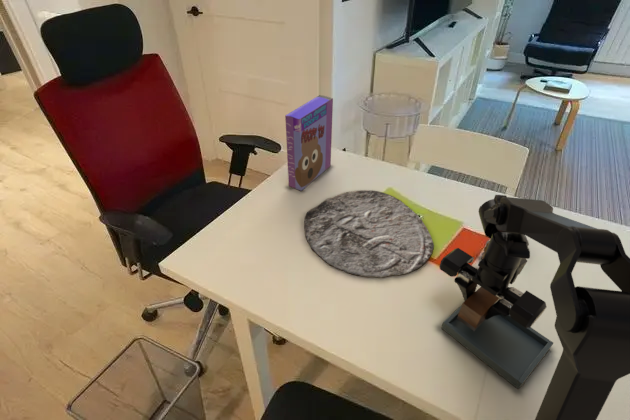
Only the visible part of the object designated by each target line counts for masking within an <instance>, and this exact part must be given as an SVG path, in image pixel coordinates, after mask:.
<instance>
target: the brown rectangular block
mask: <svg viewBox="0 0 630 420" xmlns="http://www.w3.org/2000/svg"><path fill="white" fill-rule="evenodd" d="M499 299H500V298H498V297H497V296H494V295H493V294H491V293H490V292H488V291H487V290H485V289H484V288H482V287H481V286H479V287H478V289H476V290H475V292H474V293H473V294H472V295H471V296H470V297H469V298H468V299H467V300H466V301H463V302H462V304H461V305H462V306H461V305H460V306H461V309H460V311H459V314H458V316H457V319H458V320H460V321H461V322H462V323H464V324H465V325H466V326H468V327H469V328H470V329H472V330H473V331H475V330H476V329H477V328H478V327H479V326H480V325H481V324H482V323H483V322H484V321H485V320H486V319H485V317H486V315H487V313H488V312H489V310H490V309H491V307H492V306H493V305H494V304H495V303H496V302H497V301H498V300H499Z"/></svg>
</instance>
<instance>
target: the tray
mask: <svg viewBox="0 0 630 420" xmlns="http://www.w3.org/2000/svg"><path fill="white" fill-rule="evenodd" d="M461 306H462V304H461V305H459V307H458V308H457V309H456V310H455V311H453V312H452V313H451V314H450V315H449V316H448V317H447V318H446V319H445V320H444V321H443V322H442V325H441V330H443V331H444V332H445V333H447V334H448V335H449V336H451V337H452V338H453V339H455V341H457V342H458V343H459V344H461V345H462V346H463V347H465V348H466V349H467V350H468V351H470V353H472V354H473V355H474V356H476V357H477V358H478V359H479V360H481V361H482V362H483V363H485V364H486V365H487V366H488V367H490V368H491V369H492V370H493V371H495V372H496V373H497V374H498V375H499V376H501V377H502V378H503V379H505V380H506V381H507V382H508V383H510V384H511V385H512V386H513V387H515V388H516V389H517V390H520V388H521V387H522V385H523V384H524V383H525V381H526V380H527V379H528V378H529V376H530V375H531V373H532V372H533V371H534V370H535V368H536V367H537V366H538V365H539V363H540V362H541V361H542V360H543V358H544V357H545V355H547V353H548V352H549V350H550V349H551V348H552V346H553V345H554V341H552V340H550V339H549V338H547V337H546V336H544V335H543V334H542V333H540V332H539V331H537V330H536V329H534V328H533V327H532V326H531V327H530V328H525V327H524V326H522V325H521V324H519V323H518V322H516V321H515V320H513V319H512V318H511V317H510V315H509V316H507V317H505V316H503V315H496V316H493V317H491V318H489V319H488V320H485V321H484V322H483V323H482V324H481V325H480V326H479V327H478V328H477V329H476V330H475V331H473V330H472V329H470V328H469V327H468V326H466V325H465V324H464V323H462V322H461V321H460V320H458V319H457V316H458V314H459V311H460V309H461Z"/></svg>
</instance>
